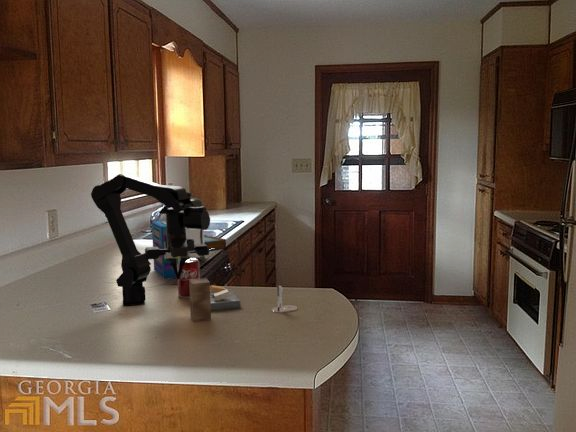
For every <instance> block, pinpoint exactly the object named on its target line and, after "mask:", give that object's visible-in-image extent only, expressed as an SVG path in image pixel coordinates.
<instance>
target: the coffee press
mask: <svg viewBox="0 0 576 432" xmlns="http://www.w3.org/2000/svg"><path fill="white" fill-rule="evenodd" d="M187 195H188V197H189V198H190V200H191V201H192V203H193V204H194V206H195V207H205V203H204V202H203V200H202V199H200V198H198V197H192V194H191V192H187ZM204 235H205V230H197V229H187V228H186V239H194V244H204ZM189 256H190V258H195V259H198V260H199V259H200V260H201V262H205V261H206V260H207V259H206V257H205V255H203V256H199V255H198V254H197V253H190V255H189ZM200 260H199V261H200Z"/></svg>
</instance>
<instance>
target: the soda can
mask: <svg viewBox="0 0 576 432" xmlns="http://www.w3.org/2000/svg"><path fill="white" fill-rule="evenodd" d="M200 270H201V269H200V260H199V258H190V259H187V260H186V262H185V264H184V266H183V269H182V273H181V276H180V279H177V294H178V296H179V297H180V298H183V299H190V288H189V279H195V278H201V277H200V275H201V272H200ZM177 271H178V261H177Z"/></svg>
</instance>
